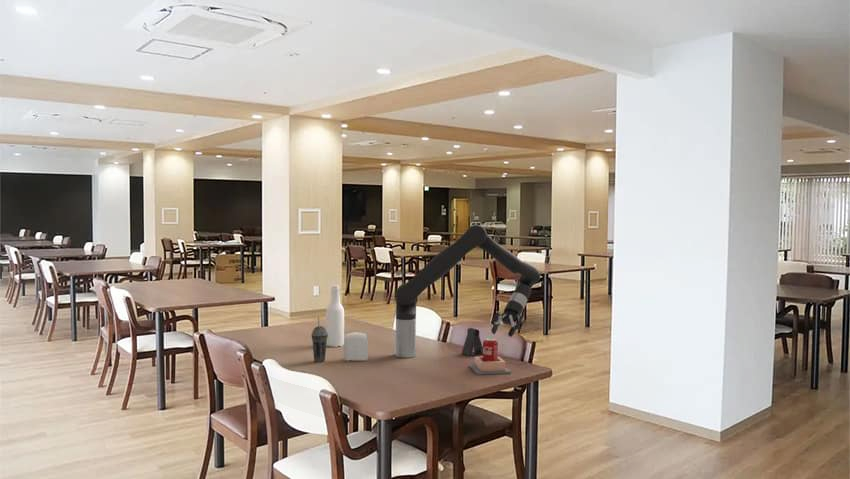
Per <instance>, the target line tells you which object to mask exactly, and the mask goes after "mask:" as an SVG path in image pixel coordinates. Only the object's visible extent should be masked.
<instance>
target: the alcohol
mask: <svg viewBox="0 0 850 479" xmlns="http://www.w3.org/2000/svg"><path fill="white" fill-rule="evenodd" d="M330 289H331V293H330V302H329V305H328V306H326V310H325V312H326V313H325V314H326V316H325V317H326V318H325V319H326V320H325V323H326V325H325V329H326V330H327V333H328V337H327V343H326V347H328V346H330V347H329V348H339V347H338V346H341V347H343V346H345V308H344V306H343V305H342V303H341V298H340V297H341V295H340V285H339V284H332V285H331V288H330Z"/></svg>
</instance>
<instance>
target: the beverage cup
mask: <svg viewBox="0 0 850 479" xmlns="http://www.w3.org/2000/svg"><path fill="white" fill-rule="evenodd" d="M317 322H318V324H317V326H316V327H314V328H313V329H312V331H311V340H312V348H313V349H312V352H313V353H312V354H313V360H314V363H317V364H318V363H319V364H321V363H325V362H326V361H325V360H326V353H327V352H326V351H327V345H326V343H327V337H328V333H327V330H326V327H324V326H321V325H320V316H317Z"/></svg>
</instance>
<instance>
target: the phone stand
mask: <svg viewBox="0 0 850 479" xmlns="http://www.w3.org/2000/svg"><path fill="white" fill-rule="evenodd" d="M466 332H467V334H466V337H465V341H464V345H463V348H462V350H461V354H462V355H464V356H467V357H473V356H474V355H476V356H482V355H481V354H483V342H482V340H481V337H480V330H479V329H476V328H473V327H468V328H467V331H466ZM474 357H475V356H474Z"/></svg>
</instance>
